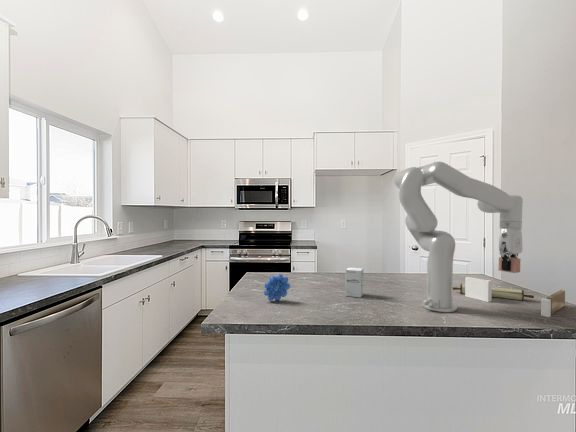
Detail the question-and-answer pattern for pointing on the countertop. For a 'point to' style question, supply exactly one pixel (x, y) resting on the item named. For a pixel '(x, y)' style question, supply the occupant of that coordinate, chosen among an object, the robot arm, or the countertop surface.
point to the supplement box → (354, 282)
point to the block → (514, 265)
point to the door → (557, 300)
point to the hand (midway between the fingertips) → (509, 269)
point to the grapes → (276, 287)
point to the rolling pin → (501, 293)
